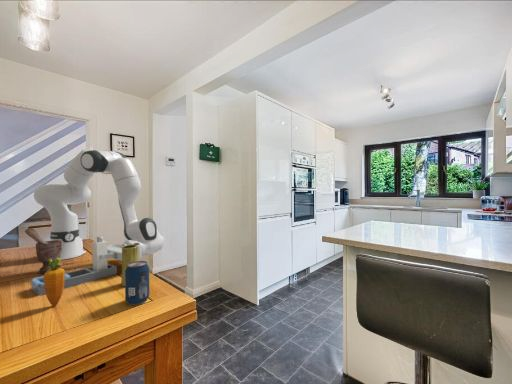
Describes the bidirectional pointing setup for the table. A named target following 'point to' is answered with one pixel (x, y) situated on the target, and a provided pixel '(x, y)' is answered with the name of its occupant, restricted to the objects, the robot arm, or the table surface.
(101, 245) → the capped white pillar
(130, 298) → the soda can
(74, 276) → the ladder grid frame
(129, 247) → the vase
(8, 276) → the table surface
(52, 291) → the carrot
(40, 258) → the mortar and pestle
